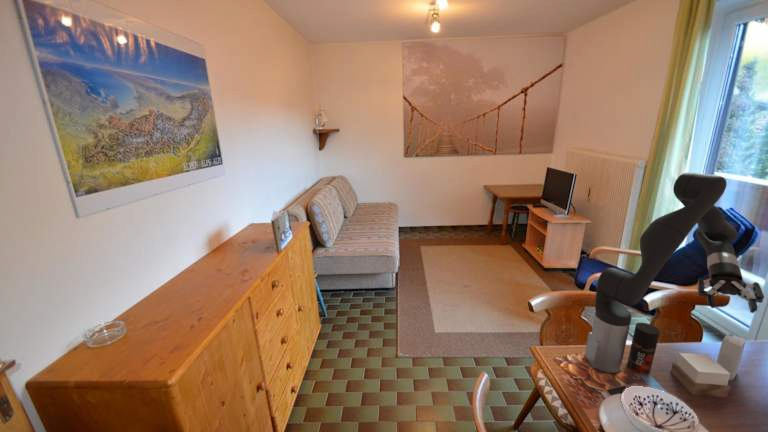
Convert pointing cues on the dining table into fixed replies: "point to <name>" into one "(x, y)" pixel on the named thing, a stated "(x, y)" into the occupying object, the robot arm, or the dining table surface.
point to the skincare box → (731, 354)
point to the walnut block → (699, 384)
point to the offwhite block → (703, 369)
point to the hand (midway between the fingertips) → (732, 308)
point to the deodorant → (643, 348)
